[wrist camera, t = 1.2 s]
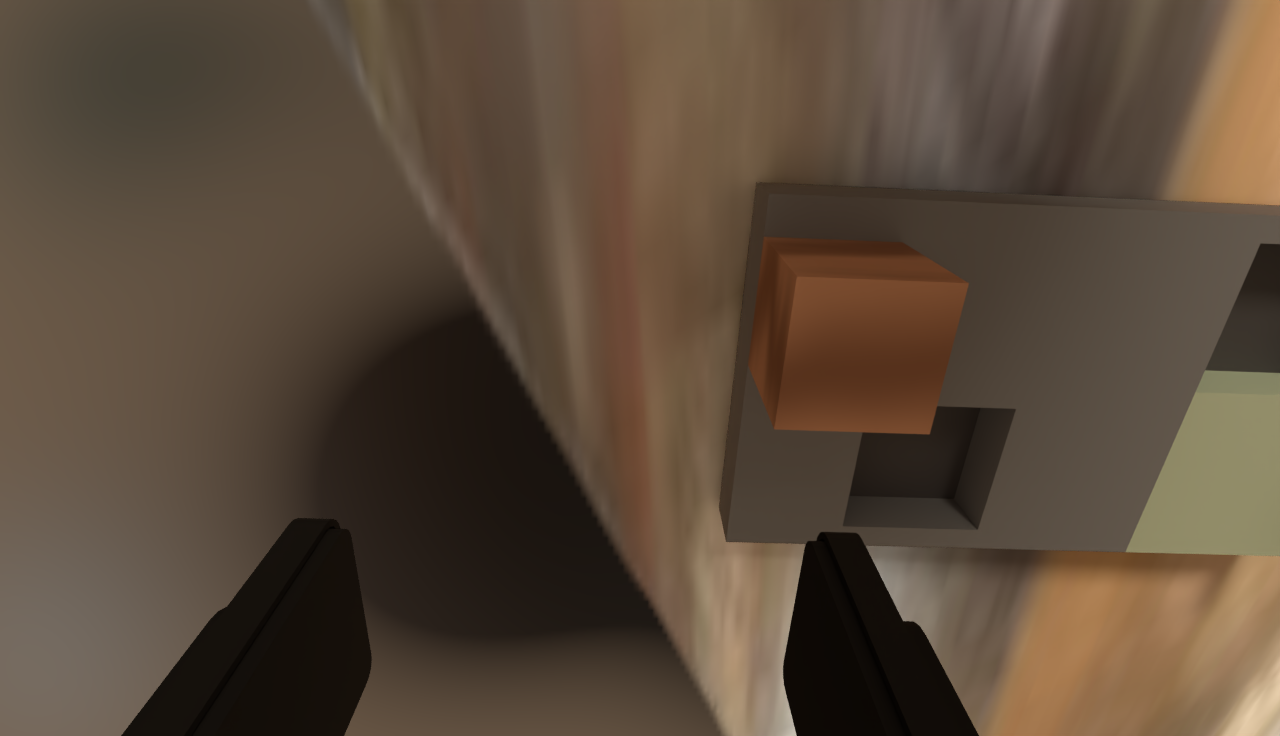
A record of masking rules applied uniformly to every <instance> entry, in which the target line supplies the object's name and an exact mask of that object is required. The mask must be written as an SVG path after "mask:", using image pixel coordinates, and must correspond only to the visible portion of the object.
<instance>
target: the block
mask: <svg viewBox="0 0 1280 736" xmlns="http://www.w3.org/2000/svg"><path fill="white" fill-rule="evenodd" d="M968 285H969V283H968V282H966V281H964V280H963V279H961V278H960V277H958V276H956V275H955V274H953V273H951V272H950V271H948V270H947V269H945V268H943V267H942V266H940V265H939V264H937V263H935V262H934V261H932V260H930V259H929V258H927V257H926V256H924V255H922V254H921V253H919V252H917V251H916V250H914V249H913V248H911V247H909V246H908V245H906V244H905V243H903V242H882V241H858V240H834V239H809V238H785V237H764V239H763V248H762V256H761V264H760V272H759V280H758V288H757V296H756V304H755V312H754V321H753V329H752V337H751V345H750V353H749V361H748V366H749V369H750V371H751V374H752V376H753V379H754V381H755V384H756V386H757V388H758V391H759V393H760V396H761V398H762V401H763V403H764V406H765V408H766V411H767V413H768V415H769V418H770V420H771V423H772V425H773V428H774V429H776V430H808V431H839V432H871V433H902V434H930V431H931V427H932V424H933V420H934V416H935V412H936V408H937V404H938V400H939V397H940V393H941V389H942V385H943V381H944V377H945V374H946V370H947V366H948V362H949V358H950V354H951V351H952V347H953V343H954V339H955V335H956V331H957V327H958V324H959V320H960V316H961V312H962V308H963V304H964V301H965V297H966V293H967V289H968Z"/></svg>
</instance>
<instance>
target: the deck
mask: <svg viewBox="0 0 1280 736" xmlns="http://www.w3.org/2000/svg"><path fill="white" fill-rule="evenodd" d="M764 237H785V238H809V239H834V240H858V241H882V242H903V243H905V244H906V245H908V246H909V247H911V248H913V249H914V250H916V251H917V252H919V253H921V254H922V255H924V256H926V257H927V258H929V259H930V260H932V261H934V262H935V263H937V264H939V265H940V266H942V267H943V268H945V269H947V270H948V271H950V272H951V273H953V274H955V275H956V276H958V277H960V278H961V279H963V280H964V281H966V282H968V283H969V285H968V289H967V293H966V297H965V301H964V304H963V308H962V312H961V316H960V320H959V324H958V327H957V331H956V335H955V339H954V343H953V347H952V351H951V354H950V358H949V362H948V366H947V370H946V374H945V377H944V381H943V385H942V389H941V393H940V397H939V400H938V404H937V408H936V412H935V416H934V420H933V424H932V427H931V431H930V434H902V433H871V432H839V431H808V430H776V429H774V428H773V425H772V423H771V420H770V418H769V415H768V413H767V411H766V408H765V406H764V403H763V401H762V398H761V396H760V393H759V391H758V388H757V386H756V384H755V381H754V379H753V376H752V374H751V371H750V369H749V366H748V361H749V353H750V345H751V337H752V329H753V321H754V312H755V304H756V296H757V288H758V280H759V272H760V264H761V256H762V248H763V239H764ZM719 510H720V514H721V519H722V524H723V529H724V534H725V538H726V542H754V543H792V544H806V543H807V542H808V541H816V540H817V537H818V535H819V533H820V532H851V533H857V534H859V535H860V537H861V538H862V540H863V542H864V544H865V545H869V546H908V547H946V548H985V549H1023V550H1062V551H1100V552H1139V553H1177V554H1216V555H1254V556H1280V206H1277V205H1255V204H1232V203H1210V202H1187V201H1164V200H1142V199H1119V198H1096V197H1074V196H1051V195H1029V194H1006V193H983V192H961V191H938V190H915V189H893V188H870V187H848V186H825V185H802V184H780V183H757V182H756V190H755V198H754V207H753V216H752V224H751V233H750V242H749V251H748V259H747V268H746V277H745V285H744V294H743V303H742V312H741V320H740V329H739V338H738V346H737V355H736V364H735V373H734V381H733V390H732V399H731V408H730V416H729V425H728V434H727V442H726V451H725V460H724V469H723V477H722V486H721V495H720V503H719Z"/></svg>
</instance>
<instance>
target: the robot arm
mask: <svg viewBox="0 0 1280 736" xmlns="http://www.w3.org/2000/svg"><path fill="white" fill-rule="evenodd" d="M370 670H371V650H370V644H369V639H368V633H367V627H366V620H365V614H364V608H363V603H362V597H361V591H360V585H359V580H358V573H357V567H356V562H355V556H354V550H353V544H352V538H351V534H350V532H349V530H347V529H340V526H339V523H338V522H337V521H336V520H334V519H310V518H308V519H307V518H297V519H294V520H293V521H292V522H291V523H290V524H289V525H288V526H287V528H286V529H285V531H284V532H283V533H282V534H281V536H280V537H279V538H278V540H277V541H276V542H275V544H274V545H273V546H272V548H271V549H270V550H269V552H268V553H267V554H266V556H265V557H264V558H263V560H262V561H261V562H260V564H259V565H258V566H257V568H256V569H255V570H254V572H253V573H252V574H251V576H250V577H249V578H248V580H247V581H246V582H245V584H244V585H243V586H242V588H241V589H240V590H239V592H238V593H237V594H236V596H235V597H234V598H233V600H232V601H231V602H230V604H229V605H228V606H227V607H225V608H224V609H222V610H220V611H218V612H217V613H216V614H215V615H214V616H213V617H212V618H211V619H210V621H209V622H208V623H207V624H206V626H205V627H204V628H203V630H202V631H201V632H200V634H199V635H198V636H197V638H196V639H195V640H194V641H193V643H192V644H191V645H190V647H189V648H188V649H187V651H186V652H185V653H184V655H183V656H182V657H181V658H180V660H179V661H178V662H177V664H176V665H175V666H174V668H173V669H172V670H171V671H170V673H169V674H168V676H167V677H166V678H165V679H164V681H163V682H162V683H161V685H160V686H159V687H158V689H157V690H156V691H155V692H154V694H153V695H152V696H151V698H150V699H149V700H148V702H147V703H146V704H145V705H144V707H143V708H142V709H141V711H140V712H139V713H138V715H137V716H136V717H135V718H134V720H133V721H132V723H131V724H130V725H129V726H128V728H127V729H126V730H125V732H124V733H123V734H122V735H121V736H344V735H345V732H346V730H347V728H348V725H349V723H350V720H351V718H352V716H353V714H354V711H355V709H356V707H357V704H358V702H359V700H360V697H361V695H362V693H363V690H364V688H365V686H366V683H367V681H368V678H369V674H370ZM783 679H784V686H785V691H786V695H787V699H788V703H789V707H790V710H791V714H792V718H793V722H794V726H795V730H796V734H797V736H979V735H978V733H977V731H976V729H975V728H974V726H973V724H972V722H971V720H970V718H969V716H968V714H967V712H966V711H965V709H964V707H963V705H962V703H961V701H960V699H959V697H958V695H957V693H956V692H955V690H954V688H953V686H952V684H951V682H950V680H949V678H948V676H947V675H946V673H945V671H944V669H943V667H942V665H941V663H940V661H939V659H938V657H937V656H936V654H935V652H934V650H933V648H932V646H931V644H930V642H929V640H928V639H927V637H926V635H925V633H924V632H923V630H922V629H921V627H920V626H919V625H917V624H916V623H915V622H910V621H903V620H902V618H901V616H900V614H899V612H898V610H897V608H896V606H895V604H894V602H893V600H892V598H891V596H890V594H889V592H888V590H887V588H886V586H885V584H884V582H883V580H882V578H881V576H880V574H879V572H878V570H877V568H876V566H875V564H874V562H873V560H872V558H871V556H870V554H869V552H868V550H867V548H866V546H865V544H864V542H863V540H862V538H861V537H860V535H859V534H857V533H851V532H820V533H819V535H818V537H817V540H816V541H808V542H807V543H806V546H805V550H804V555H803V561H802V566H801V572H800V577H799V582H798V588H797V593H796V599H795V604H794V610H793V615H792V620H791V626H790V631H789V637H788V642H787V647H786V653H785V658H784V665H783Z"/></svg>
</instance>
